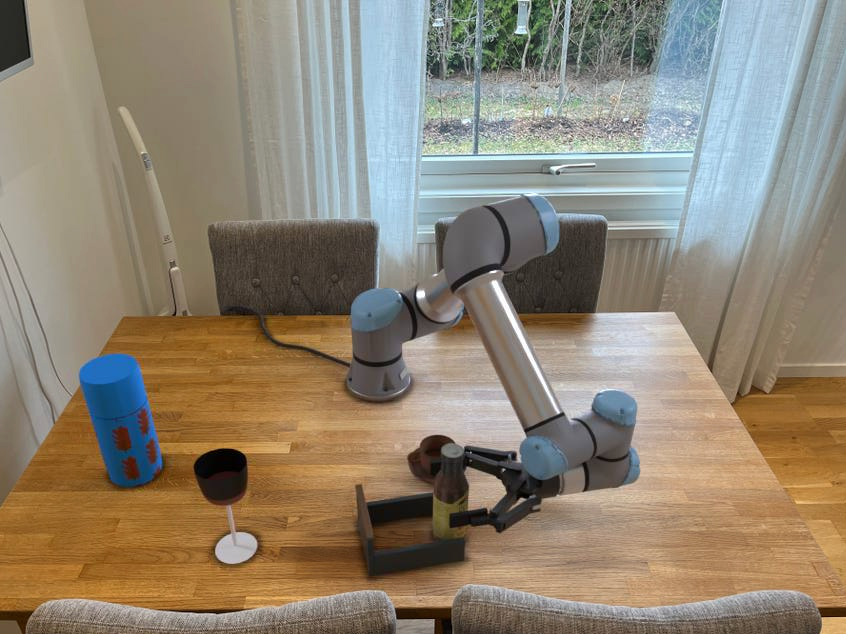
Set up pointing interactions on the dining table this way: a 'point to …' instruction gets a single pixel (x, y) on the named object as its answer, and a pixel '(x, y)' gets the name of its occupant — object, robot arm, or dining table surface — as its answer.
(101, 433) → the thermos
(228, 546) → the wineglass
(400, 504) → the caddy
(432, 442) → the cup and saucer
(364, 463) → the dining table surface
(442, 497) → the sauce bottle
